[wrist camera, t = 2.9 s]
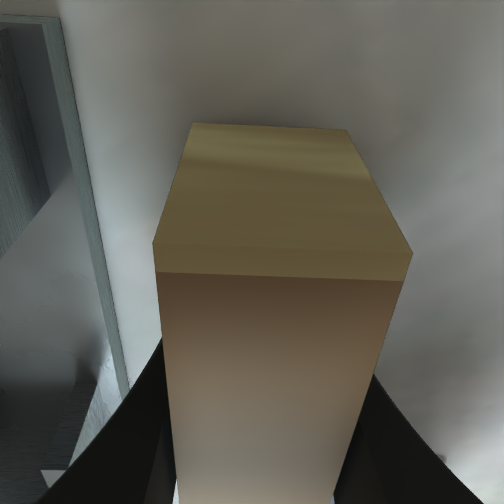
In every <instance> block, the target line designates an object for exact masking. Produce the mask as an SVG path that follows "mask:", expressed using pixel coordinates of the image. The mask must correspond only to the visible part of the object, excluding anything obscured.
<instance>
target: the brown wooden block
mask: <svg viewBox="0 0 504 504" xmlns="http://www.w3.org/2000/svg"><path fill="white" fill-rule="evenodd" d="M152 244H153V254H154V263H155V273H156V283H157V292H158V302H159V312H160V321H161V331H162V340H163V350H164V360H165V369H166V379H167V389H168V398H169V408H170V418H171V427H172V437H173V446H174V456H175V466H176V475H177V485H178V495H179V504H330V501H331V498H332V495H333V492H334V489H335V486H336V483H337V480H338V477H339V474H340V471H341V468H342V465H343V462H344V459H345V456H346V453H347V450H348V447H349V444H350V441H351V438H352V435H353V432H354V429H355V426H356V423H357V420H358V417H359V414H360V411H361V408H362V405H363V402H364V399H365V396H366V393H367V390H368V387H369V384H370V381H371V378H372V375H373V372H374V369H375V366H376V363H377V360H378V357H379V354H380V351H381V348H382V345H383V342H384V339H385V336H386V333H387V330H388V327H389V324H390V321H391V318H392V315H393V312H394V309H395V306H396V303H397V300H398V297H399V294H400V291H401V288H402V285H403V282H404V279H405V276H406V273H407V270H408V267H409V264H410V261H411V258H412V255H413V252H412V250H411V248H410V246H409V245H408V243H407V241H406V239H405V237H404V235H403V234H402V232H401V230H400V228H399V226H398V224H397V223H396V221H395V219H394V217H393V215H392V213H391V212H390V210H389V208H388V206H387V204H386V202H385V201H384V199H383V197H382V195H381V193H380V191H379V189H378V188H377V186H376V184H375V182H374V180H373V178H372V177H371V175H370V173H369V171H368V169H367V167H366V166H365V164H364V162H363V160H362V158H361V156H360V155H359V153H358V151H357V149H356V147H355V145H354V143H353V142H352V140H351V138H350V136H349V134H348V132H347V131H346V130H337V129H316V128H295V127H275V126H254V125H234V124H213V123H192V126H191V129H190V132H189V135H188V138H187V141H186V144H185V147H184V150H183V153H182V156H181V159H180V162H179V165H178V168H177V171H176V174H175V177H174V180H173V183H172V186H171V189H170V192H169V195H168V198H167V201H166V204H165V207H164V210H163V213H162V216H161V219H160V222H159V225H158V228H157V231H156V234H155V237H154V240H153V243H152Z"/></svg>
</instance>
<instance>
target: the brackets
mask: <svg viewBox="0 0 504 504" xmlns="http://www.w3.org/2000/svg"><path fill="white" fill-rule="evenodd" d="M129 391H130V390H129V385H128V379H127V374H126V369H125V363H124V358H123V353H122V347H121V342H120V337H119V331H118V326H117V321H116V315H115V310H114V305H113V299H112V294H111V289H110V284H109V278H108V273H107V268H106V262H105V257H104V252H103V246H102V241H101V236H100V230H99V225H98V220H97V214H96V209H95V204H94V198H93V193H92V188H91V183H90V177H89V172H88V167H87V161H86V156H85V151H84V145H83V140H82V135H81V129H80V124H79V119H78V113H77V108H76V103H75V97H74V92H73V87H72V82H71V76H70V71H69V66H68V60H67V55H66V50H65V44H64V39H63V34H62V28H61V23H60V18H54V17H37V16H19V15H1V14H0V504H34V503H35V502H36V501H37V500H38V499H39V498H40V497H41V496H42V495H43V494H44V493H45V492H46V491H47V490H48V489H49V488H50V487H51V486H52V485H53V484H54V483H55V482H56V481H57V480H58V479H59V478H60V476H61V475H62V474H63V473H64V472H65V471H66V470H67V469H68V468H69V467H70V465H71V464H72V463H73V462H74V461H75V460H76V459H77V458H78V457H79V455H80V454H81V453H82V452H83V451H84V450H85V449H86V447H87V446H88V445H89V444H90V443H91V441H92V440H93V439H94V438H95V437H96V435H97V434H98V433H99V432H100V430H101V429H102V428H103V427H104V425H105V424H106V423H107V421H108V420H109V419H110V418H111V416H112V415H113V414H114V412H115V411H116V409H117V408H118V407H119V405H120V404H121V402H122V401H123V400H124V398H125V397H126V395H127V394H128V392H129Z"/></svg>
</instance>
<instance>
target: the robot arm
mask: <svg viewBox="0 0 504 504" xmlns="http://www.w3.org/2000/svg"><path fill="white" fill-rule="evenodd" d="M176 480H177V475H176V466H175V456H174V446H173V437H172V427H171V418H170V408H169V398H168V389H167V379H166V369H165V360H164V350H163V340H162V338H161V340H160V342H159V344H158V345H157V347H156V349H155V351H154V353H153V354H152V356H151V358H150V360H149V361H148V363H147V365H146V366H145V368H144V369H143V371H142V373H141V374H140V376H139V377H138V379H137V381H136V382H135V384H134V385H133V387H132V388H131V390H130V391H129V392H128V394H127V395H126V397H125V398H124V400H123V401H122V402H121V404H120V405H119V407H118V408H117V409H116V411H115V412H114V414H113V415H112V416H111V418H110V419H109V420H108V421H107V423H106V424H105V425H104V427H103V428H102V429H101V430H100V432H99V433H98V434H97V435H96V437H95V438H94V439H93V440H92V441H91V443H90V444H89V445H88V446H87V447H86V449H85V450H84V451H83V452H82V453H81V454H80V455H79V457H78V458H77V459H76V460H75V461H74V462H73V463H72V464H71V465H70V467H69V468H68V469H67V470H66V471H65V472H64V473H63V474H62V475H61V476H60V478H59V479H58V480H57V481H56V482H55V483H54V484H53V485H52V486H51V487H50V488H49V489H48V490H47V491H46V492H45V493H44V494H43V495H42V496H41V497H40V498H39V499H38V500H37V501H36V502H35V503H34V504H172V503H173V497H174V490H175V484H176ZM330 504H484V503H483V502H482V501H481V500H480V499H478V498H477V497H476V496H475V495H474V494H473V493H472V492H471V491H470V490H469V489H468V488H467V487H466V486H465V485H464V484H463V483H462V482H461V481H460V480H459V479H458V478H457V477H456V476H455V475H454V474H453V473H452V472H451V470H450V469H449V468H448V467H447V466H446V465H445V464H444V463H443V462H442V461H441V460H440V459H439V458H438V456H437V455H436V454H435V453H434V452H433V451H432V450H431V448H430V447H429V446H428V445H427V444H426V443H425V442H424V440H423V439H422V438H421V437H420V436H419V434H418V433H417V432H416V431H415V430H414V428H413V427H412V426H411V425H410V423H409V422H408V421H407V419H406V418H405V417H404V416H403V414H402V413H401V412H400V410H399V409H398V408H397V406H396V405H395V404H394V402H393V401H392V400H391V398H390V397H389V395H388V394H387V393H386V391H385V390H384V388H383V387H382V385H381V384H380V383H379V381H378V380H377V378H376V377H375V375H374V374H373V375H372V378H371V381H370V384H369V387H368V390H367V393H366V396H365V399H364V402H363V405H362V408H361V411H360V414H359V417H358V420H357V423H356V426H355V429H354V432H353V435H352V438H351V441H350V444H349V447H348V450H347V453H346V456H345V459H344V462H343V465H342V468H341V471H340V474H339V477H338V480H337V483H336V486H335V489H334V492H333V495H332V498H331V501H330Z"/></svg>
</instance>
